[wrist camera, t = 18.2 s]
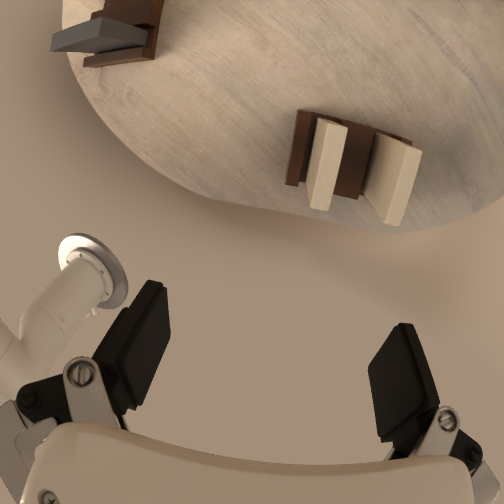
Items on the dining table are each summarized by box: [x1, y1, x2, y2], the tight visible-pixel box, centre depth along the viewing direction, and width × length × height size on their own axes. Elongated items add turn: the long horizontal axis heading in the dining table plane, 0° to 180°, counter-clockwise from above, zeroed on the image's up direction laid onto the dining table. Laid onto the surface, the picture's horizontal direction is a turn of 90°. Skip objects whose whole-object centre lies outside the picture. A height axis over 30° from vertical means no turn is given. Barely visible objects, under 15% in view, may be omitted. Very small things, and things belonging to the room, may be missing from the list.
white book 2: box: [361, 132, 423, 227], centre depth 26 cm, size 2×8×10 cm, turn 173°
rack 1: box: [83, 0, 164, 68], centre depth 22 cm, size 14×10×4 cm
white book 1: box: [305, 117, 348, 211], centre depth 26 cm, size 8×2×10 cm, turn 173°
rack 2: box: [285, 109, 412, 200], centre depth 30 cm, size 9×14×4 cm, turn 83°
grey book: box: [50, 17, 148, 54], centre depth 21 cm, size 2×8×10 cm, turn 83°
